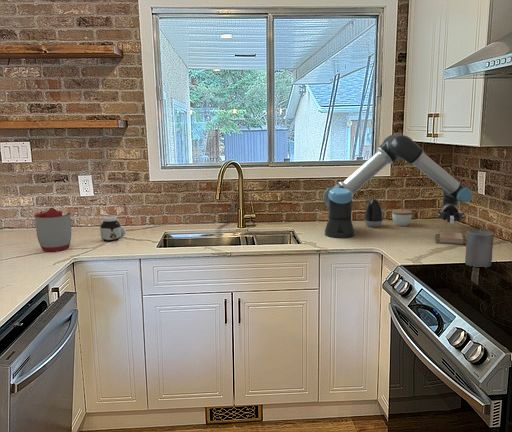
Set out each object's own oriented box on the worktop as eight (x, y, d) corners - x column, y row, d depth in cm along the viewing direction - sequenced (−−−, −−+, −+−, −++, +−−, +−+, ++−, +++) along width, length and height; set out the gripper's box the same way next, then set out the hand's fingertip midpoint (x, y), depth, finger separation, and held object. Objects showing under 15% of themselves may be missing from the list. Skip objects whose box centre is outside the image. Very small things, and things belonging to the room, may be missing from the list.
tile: (439, 231, 237) (440, 237, 225) (461, 233, 234) (463, 239, 222) (439, 236, 238) (440, 242, 226) (461, 237, 234) (462, 243, 222)
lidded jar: (406, 222, 274) (407, 206, 272) (414, 226, 263) (415, 209, 261) (388, 223, 272) (389, 207, 270) (396, 227, 262) (397, 210, 260)
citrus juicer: (83, 246, 229) (80, 205, 225) (52, 255, 214) (47, 211, 210) (62, 242, 236) (58, 203, 233) (30, 250, 222) (26, 208, 218)
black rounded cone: (370, 223, 273) (371, 197, 270) (386, 225, 265) (387, 199, 262) (360, 225, 266) (360, 199, 263) (375, 228, 258) (376, 201, 256)
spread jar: (100, 242, 236) (98, 219, 234) (102, 237, 247) (101, 215, 245) (125, 241, 239) (123, 218, 236) (126, 235, 249) (125, 214, 247)
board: (435, 234, 243) (435, 233, 243) (465, 236, 238) (465, 235, 238) (435, 243, 226) (435, 241, 226) (467, 245, 222) (467, 244, 222)
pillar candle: (473, 259, 198) (476, 224, 196) (496, 265, 191) (499, 228, 188) (459, 264, 193) (462, 228, 190) (482, 270, 185) (485, 232, 182)
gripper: (463, 219, 248) (466, 229, 226) (436, 218, 252) (437, 227, 231) (464, 205, 246) (467, 214, 225) (437, 204, 251) (438, 212, 229)
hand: (452, 221), depth 228 cm, fingers closed
